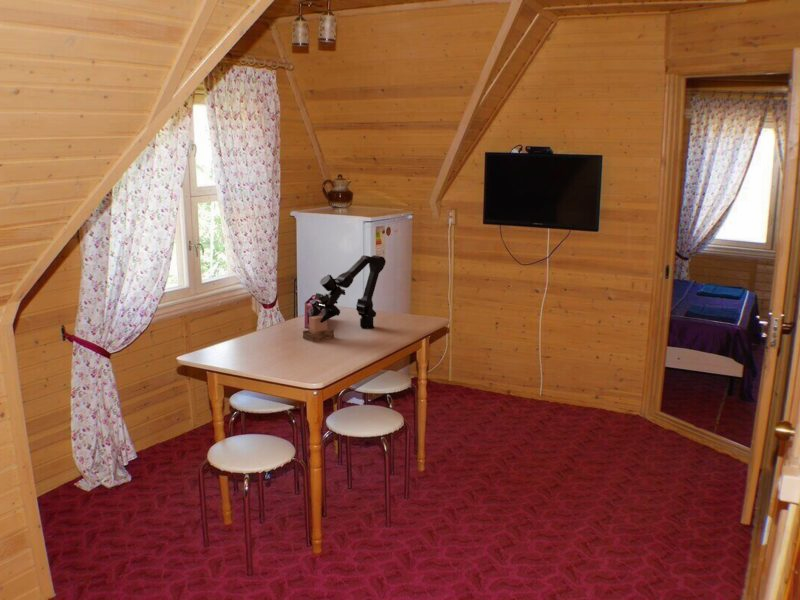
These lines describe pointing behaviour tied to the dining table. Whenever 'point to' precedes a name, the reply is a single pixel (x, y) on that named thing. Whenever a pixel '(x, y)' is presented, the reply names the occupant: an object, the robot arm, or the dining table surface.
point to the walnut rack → (318, 335)
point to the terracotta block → (317, 324)
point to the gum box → (310, 310)
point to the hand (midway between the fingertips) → (316, 321)
